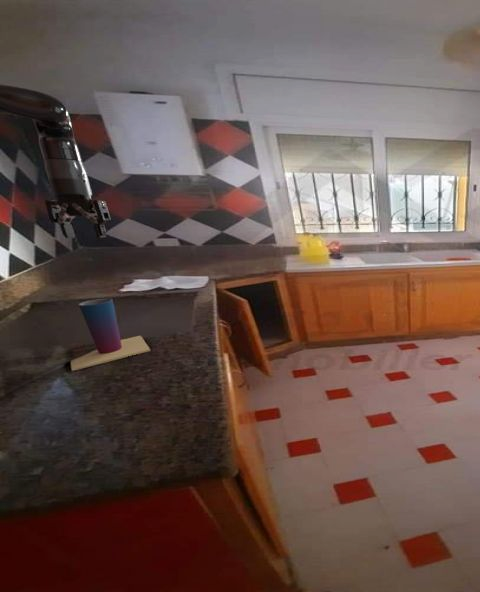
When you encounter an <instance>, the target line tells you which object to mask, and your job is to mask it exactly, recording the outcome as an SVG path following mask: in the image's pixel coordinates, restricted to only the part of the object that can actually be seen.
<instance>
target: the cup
mask: <svg viewBox="0 0 480 592" xmlns="http://www.w3.org/2000/svg"><path fill="white" fill-rule="evenodd" d="M78 306H79V309H80V311H81V314H82V316H83V319H84V321H85V324H86V326H87V328H88V330H89V333H90V336H91V338H92V341H93V343H94V345H95V349H97V350H98V352H99V353H100V354H105V353H111V352H115V351H118V350H120V349H121V348H122V345H121V340H122V339H121V336H120V330H119V326H118V320H117V315H116V309H115V304H114V300H113V298H98V299H91V300H86V301H83V302H82V301H81V302H80V303H78Z"/></svg>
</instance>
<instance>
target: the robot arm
mask: <svg viewBox="0 0 480 592" xmlns="http://www.w3.org/2000/svg"><path fill="white" fill-rule="evenodd" d="M0 115H5V116H6V115H7V116H8V115H14V116H17V117H22V118H26V119H31V120H32V121H33V123H34V126H35V129H36V132H37V134H38V144H39V148H40V151H41V155H42V157H43V162H44V169H45V172H46V175H47V178H48V182H49V185H50V188H51V192H52V194H53V195H54V196H56V197H57V199H55V200H54V199H46V200H44V203H45V207H46V211H47V212H46V213H47V215H48V219H49V221H50V223H55V224H58V225H59V227H60V229H61V233H62V235H63V236H64V238H65V239H73V238H75V237H76V235H75V234H76V233H75V231H74V228H73V225H72V224H71V223H72V222H73V219H75V218H76V217H84V218H86V219H88V220H89V221H90V222H92V223H93V224H92V226H93V230H94V232H95V233H94V234H95V236H96V238H97V239H102V238H107V230H106V227H105V224H106V223H109V222H111V221H112V218H111V215H110V212H109V209H108V206H107V203H106V201H105V200H104V199H92V196H93V190H92V186H91V184H90V180H89V177H88V176H89V175H88V173H87V170H86V168H85V166H84V163H83V160H82V159H83V158H82V156H81V152H80V149H79V147H78V144H77V142H76V139H75V135H74V129H73V124H72V120H71V117H70V113H69V110H68V108H67V106H66V105H65V104H64V103H63V102H62V101H61V100H60V99H58V98H57V97H55V96H53V95H51V94H48V93H44V92H41V91H38V90H33V89H29V88H24V87H18V86H13V85H7V84H2V83H0Z"/></svg>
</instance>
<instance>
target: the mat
mask: <svg viewBox="0 0 480 592" xmlns="http://www.w3.org/2000/svg"><path fill="white" fill-rule="evenodd" d="M120 340H121V345H122V348H121V349H120V350H118V351H115V352H111V353H105V354H100V353H99V352H98V350H97V348H95V349H93V350H91V351H88V352H87V353H85V354H82V355H80V356H78V357H75V358H73V359H71V360H70V368H71V372H75V371H78V370H81V369H85V368H90V367H93V366H97V365H102V364H105V363H109V362H113V361H117V360H120V359H124V358H128V356H129V357H132V355H133V356H136V354H137V355H140V354H144V353H149V352H151V348H150V347H149V346H148V344H147V342H145V340H144V338H143V337H142V335H137V336H133V337H128V338H124V339H120Z"/></svg>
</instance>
